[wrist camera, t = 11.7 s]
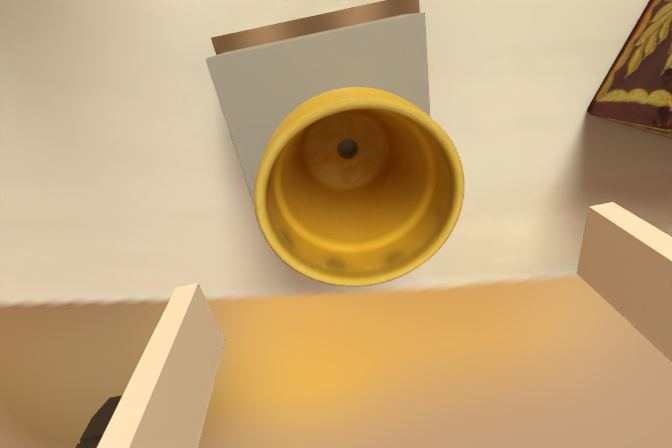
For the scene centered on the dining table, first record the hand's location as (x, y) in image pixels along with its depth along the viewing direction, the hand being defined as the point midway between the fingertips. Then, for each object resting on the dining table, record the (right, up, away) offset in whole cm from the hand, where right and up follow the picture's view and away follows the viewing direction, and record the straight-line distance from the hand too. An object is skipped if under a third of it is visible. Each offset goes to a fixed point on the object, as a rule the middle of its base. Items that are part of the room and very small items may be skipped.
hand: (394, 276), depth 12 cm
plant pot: (-1, +8, +14) cm, 16 cm away
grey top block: (-2, +11, +19) cm, 22 cm away
